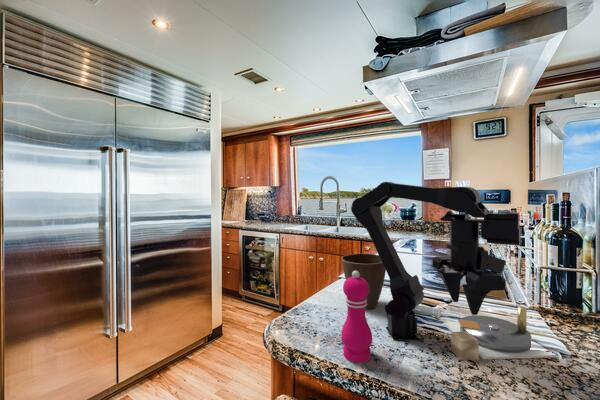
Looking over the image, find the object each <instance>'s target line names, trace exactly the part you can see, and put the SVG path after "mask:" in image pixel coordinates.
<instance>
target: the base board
mask: <svg viewBox="0 0 600 400" xmlns="http://www.w3.org/2000/svg"><path fill="white" fill-rule="evenodd" d="M442 323H443V326H445V327H446V328H447V329H448V330H449V331H450V332H461V331H460V324H459V321H454V322H453V321H452V322H446V321H445V322H444V321H443V322H442ZM552 352H553V351H551V352H546V351H537V350H530V349H529V350H527V351H524V352H504V351H498V350H494V349H490V348H487V347H484V346H481V345H479V357H480V358H481V359H482V360H502V359H503V360H504V359H505V360H506V359H507V360H509V359H543V358H544V359H545V358H546V359H547V358H557V357H558V354H556V353H554V352H553V353H552ZM556 356H557V357H556Z"/></svg>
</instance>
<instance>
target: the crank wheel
mask: <svg viewBox="0 0 600 400" xmlns="http://www.w3.org/2000/svg"><path fill="white" fill-rule="evenodd" d="M516 310H517V311H516V313H517V314H516V317H517V319H516V320H517V321H516V323H517V324H516V323H514V322H512V321H509V320H507V319H504V318H503V319H502V318H499V317H494V316H489V315H478V314H477V315H472V314H471V315H468V316H467V315H466V316H464V317H462V318H461V319H457V320H458V321H457V322H459V324H460V331H461V332H469V333H470V334H471V335H473V336H474V337H475V338H476V339H478V340H479V345H481V346H484V347H487V348H490V349H494V350H498V351H504V352H524V351H527V350H529V349H530V348H531V339H532V335H531V333H530V332H529V331H528V330H527V307H524V306H517V308H516Z"/></svg>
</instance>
